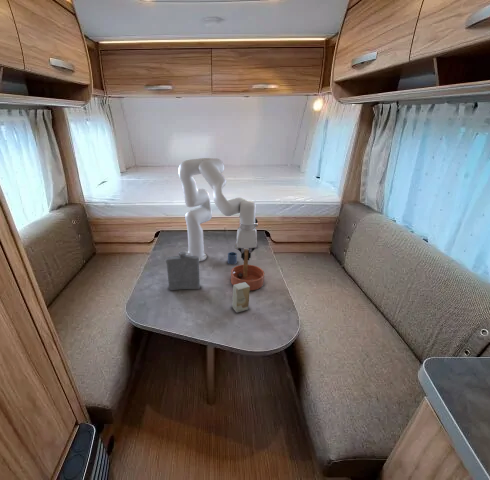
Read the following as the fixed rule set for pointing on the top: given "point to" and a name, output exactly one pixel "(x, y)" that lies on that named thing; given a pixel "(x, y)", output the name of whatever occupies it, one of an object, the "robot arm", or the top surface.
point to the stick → (245, 263)
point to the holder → (232, 258)
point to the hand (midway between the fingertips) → (245, 259)
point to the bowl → (248, 276)
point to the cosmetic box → (241, 296)
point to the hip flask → (183, 272)
